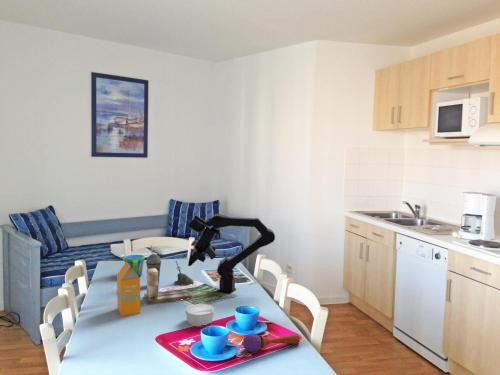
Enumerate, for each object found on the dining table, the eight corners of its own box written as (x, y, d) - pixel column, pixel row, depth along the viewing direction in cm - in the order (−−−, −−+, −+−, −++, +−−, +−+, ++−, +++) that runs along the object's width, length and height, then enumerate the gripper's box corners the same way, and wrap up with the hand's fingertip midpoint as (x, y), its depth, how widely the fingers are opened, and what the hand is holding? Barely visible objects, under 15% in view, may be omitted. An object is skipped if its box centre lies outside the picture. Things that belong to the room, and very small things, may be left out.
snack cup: (125, 272, 231) (124, 253, 230) (145, 271, 234) (145, 252, 233) (123, 280, 216) (122, 260, 215) (144, 279, 218) (144, 259, 217)
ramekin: (202, 330, 157) (202, 316, 157) (179, 323, 163) (179, 310, 163) (220, 320, 167) (220, 307, 166) (197, 314, 173) (197, 301, 172)
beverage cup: (157, 288, 204) (157, 247, 202) (143, 287, 206) (143, 246, 204) (163, 283, 211) (163, 244, 210) (150, 282, 213) (149, 243, 211)
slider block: (155, 292, 192) (155, 268, 191) (159, 298, 185) (159, 272, 184) (146, 293, 190) (146, 269, 190) (149, 299, 183) (149, 273, 182)
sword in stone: (193, 280, 218) (193, 257, 217) (194, 285, 211) (194, 262, 209) (173, 281, 216) (173, 258, 215) (174, 286, 209) (174, 263, 207)
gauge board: (185, 292, 200) (185, 288, 199) (191, 298, 190) (191, 294, 190) (144, 297, 192) (144, 292, 192) (148, 304, 183) (148, 300, 183)
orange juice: (121, 316, 169) (120, 267, 168) (117, 309, 177) (116, 261, 176) (140, 313, 173) (140, 264, 171) (136, 306, 181) (135, 259, 179)
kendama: (302, 336, 144) (248, 340, 137) (299, 351, 146) (245, 357, 138) (295, 326, 150) (242, 330, 142) (292, 341, 151) (239, 346, 144)
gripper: (222, 252, 193) (204, 281, 194) (219, 240, 211) (202, 267, 212) (201, 240, 190) (183, 269, 191) (199, 229, 208) (183, 256, 209)
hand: (188, 265), depth 201 cm, fingers closed
